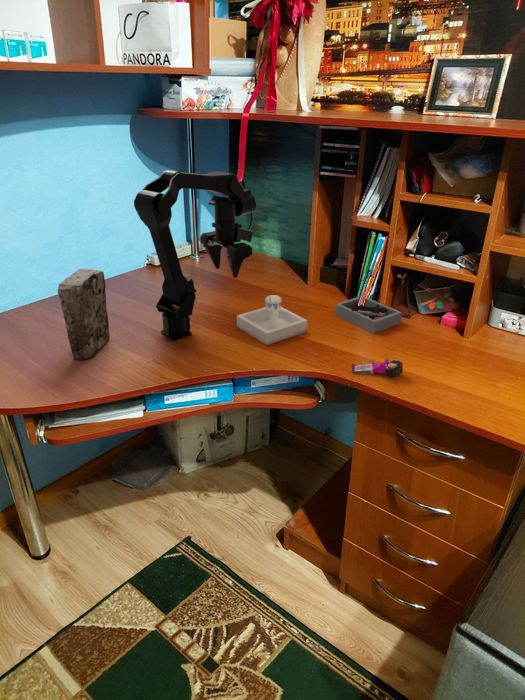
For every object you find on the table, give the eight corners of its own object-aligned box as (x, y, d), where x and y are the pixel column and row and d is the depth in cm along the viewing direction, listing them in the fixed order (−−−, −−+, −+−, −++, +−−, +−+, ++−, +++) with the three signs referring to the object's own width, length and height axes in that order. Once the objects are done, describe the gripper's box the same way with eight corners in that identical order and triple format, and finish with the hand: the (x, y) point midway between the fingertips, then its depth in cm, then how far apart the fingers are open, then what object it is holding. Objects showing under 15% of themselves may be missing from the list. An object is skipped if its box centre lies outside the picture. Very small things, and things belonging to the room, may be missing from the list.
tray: (266, 345, 141) (266, 333, 139) (236, 326, 151) (236, 315, 149) (306, 331, 148) (307, 320, 147) (275, 314, 158) (275, 304, 156)
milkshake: (261, 329, 147) (261, 296, 142) (267, 322, 152) (267, 289, 147) (277, 332, 146) (278, 298, 141) (282, 324, 150) (283, 291, 146)
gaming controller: (349, 319, 159) (345, 313, 153) (351, 305, 160) (348, 298, 153) (385, 323, 156) (383, 317, 149) (387, 309, 156) (385, 301, 150)
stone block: (88, 336, 144) (77, 266, 135) (113, 338, 144) (104, 267, 134) (68, 360, 132) (54, 285, 123) (96, 362, 132) (84, 286, 123)
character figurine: (352, 380, 128) (403, 379, 125) (351, 362, 125) (404, 360, 123) (352, 369, 133) (402, 368, 130) (351, 351, 130) (402, 349, 128)
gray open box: (373, 333, 148) (374, 322, 146) (334, 315, 158) (335, 304, 157) (400, 323, 154) (402, 312, 152) (361, 306, 164) (362, 295, 163)
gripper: (268, 222, 145) (267, 276, 153) (230, 209, 158) (231, 259, 166) (234, 228, 139) (235, 284, 147) (198, 214, 152) (200, 266, 160)
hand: (226, 272), depth 155 cm, fingers open, 9 cm apart
